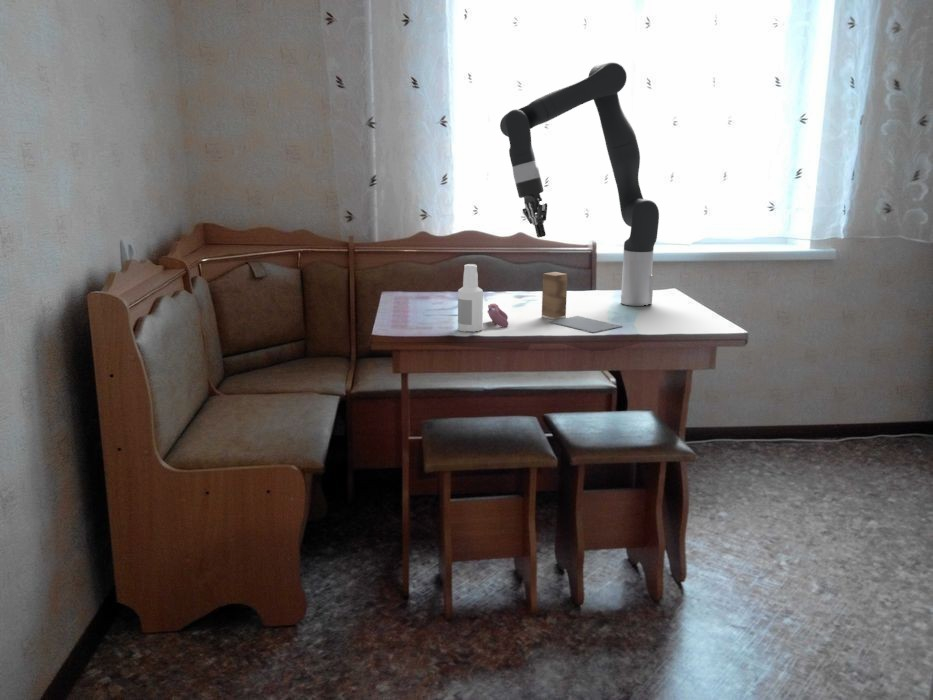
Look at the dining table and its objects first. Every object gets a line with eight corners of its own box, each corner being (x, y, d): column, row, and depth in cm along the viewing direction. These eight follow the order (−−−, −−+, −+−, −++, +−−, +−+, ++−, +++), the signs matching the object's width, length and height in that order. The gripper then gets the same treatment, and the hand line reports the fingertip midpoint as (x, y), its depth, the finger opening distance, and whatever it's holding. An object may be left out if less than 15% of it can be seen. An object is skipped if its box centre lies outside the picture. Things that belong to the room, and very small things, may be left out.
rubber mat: (548, 322, 229) (548, 321, 229) (577, 316, 236) (577, 315, 236) (593, 333, 216) (593, 332, 216) (621, 327, 223) (622, 325, 223)
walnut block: (553, 314, 239) (555, 271, 235) (565, 317, 235) (567, 274, 232) (541, 316, 236) (543, 273, 232) (553, 319, 232) (555, 275, 229)
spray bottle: (460, 326, 223) (461, 262, 218) (484, 327, 222) (485, 263, 217) (455, 331, 216) (455, 266, 212) (480, 333, 215) (480, 267, 210)
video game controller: (494, 325, 232) (484, 304, 230) (508, 318, 231) (498, 297, 229) (495, 333, 222) (484, 311, 220) (509, 326, 221) (498, 304, 220)
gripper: (548, 173, 228) (562, 232, 231) (529, 179, 241) (543, 235, 244) (525, 179, 226) (540, 238, 229) (507, 185, 239) (521, 241, 241)
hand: (541, 236), depth 236 cm, fingers closed
